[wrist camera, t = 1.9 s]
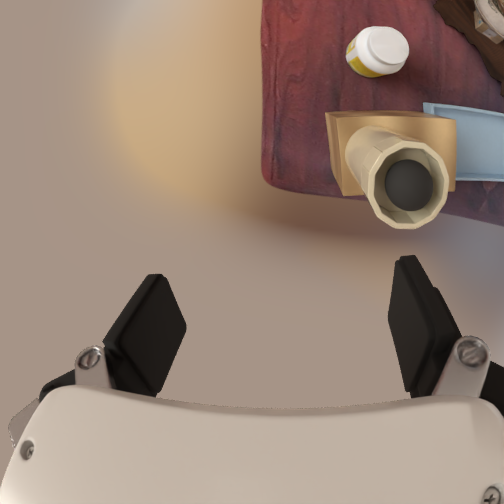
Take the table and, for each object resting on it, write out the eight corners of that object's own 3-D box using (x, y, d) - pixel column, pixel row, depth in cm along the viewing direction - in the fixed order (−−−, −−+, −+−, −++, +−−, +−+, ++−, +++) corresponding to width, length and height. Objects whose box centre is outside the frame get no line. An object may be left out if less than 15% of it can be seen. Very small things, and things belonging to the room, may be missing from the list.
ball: (369, 184, 21) (383, 202, 18) (394, 145, 19) (413, 155, 16) (404, 208, 22) (422, 228, 18) (428, 171, 20) (450, 186, 16)
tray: (425, 175, 38) (432, 180, 36) (422, 102, 32) (430, 103, 30) (516, 177, 33) (525, 182, 31) (518, 117, 27) (528, 119, 25)
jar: (333, 165, 29) (350, 201, 20) (364, 113, 25) (399, 122, 16) (383, 196, 30) (416, 243, 20) (414, 148, 26) (462, 176, 17)
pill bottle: (384, 83, 32) (413, 79, 22) (342, 72, 33) (359, 62, 23) (388, 45, 29) (418, 31, 19) (346, 33, 29) (364, 12, 19)
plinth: (331, 169, 41) (343, 196, 31) (324, 112, 36) (336, 117, 26) (420, 166, 38) (454, 191, 27) (418, 111, 33) (456, 119, 23)
